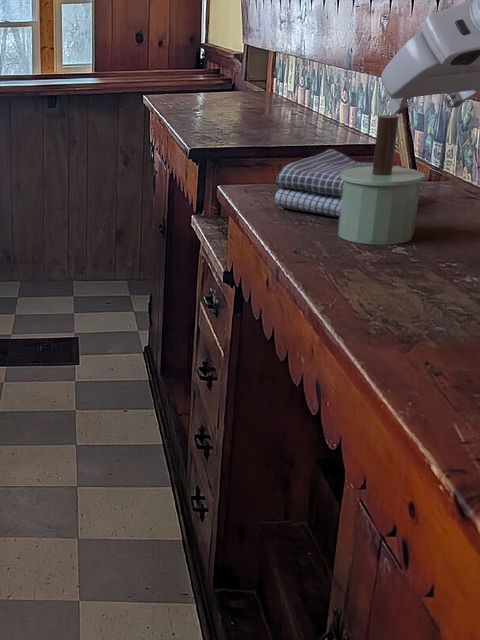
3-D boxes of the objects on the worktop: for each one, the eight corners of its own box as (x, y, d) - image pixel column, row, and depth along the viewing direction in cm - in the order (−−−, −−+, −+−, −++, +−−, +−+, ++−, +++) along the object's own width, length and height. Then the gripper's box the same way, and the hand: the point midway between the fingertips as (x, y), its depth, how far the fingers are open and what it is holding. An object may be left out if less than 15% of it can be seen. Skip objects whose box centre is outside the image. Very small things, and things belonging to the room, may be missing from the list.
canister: (420, 231, 128) (428, 173, 125) (401, 248, 121) (409, 187, 118) (350, 223, 134) (356, 168, 131) (328, 239, 127) (333, 181, 123)
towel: (269, 211, 144) (273, 163, 141) (323, 190, 155) (328, 146, 152) (357, 224, 134) (363, 173, 131) (408, 201, 145) (415, 154, 142)
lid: (432, 177, 125) (441, 112, 122) (412, 193, 117) (421, 123, 113) (353, 172, 132) (359, 109, 128) (328, 186, 124) (334, 120, 120)
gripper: (548, 5, 108) (472, 82, 120) (415, 16, 102) (350, 95, 114) (573, 45, 105) (493, 118, 118) (439, 57, 100) (370, 133, 112)
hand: (422, 107), depth 116 cm, fingers open, 8 cm apart
